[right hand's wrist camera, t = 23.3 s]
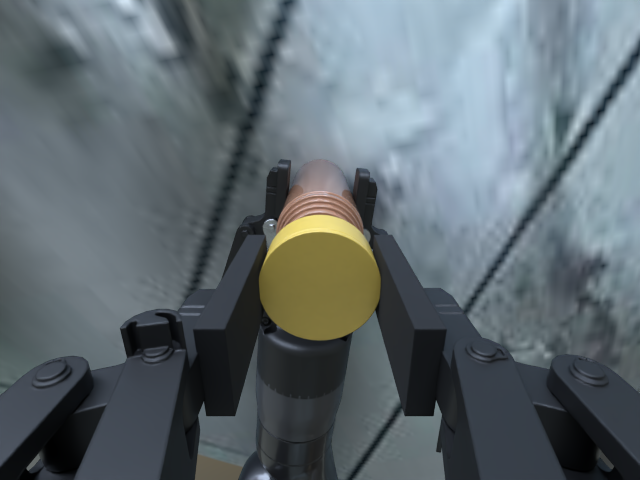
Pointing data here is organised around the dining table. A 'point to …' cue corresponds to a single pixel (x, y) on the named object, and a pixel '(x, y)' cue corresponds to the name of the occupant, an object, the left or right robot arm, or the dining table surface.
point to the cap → (319, 278)
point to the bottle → (319, 195)
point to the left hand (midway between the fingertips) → (323, 166)
